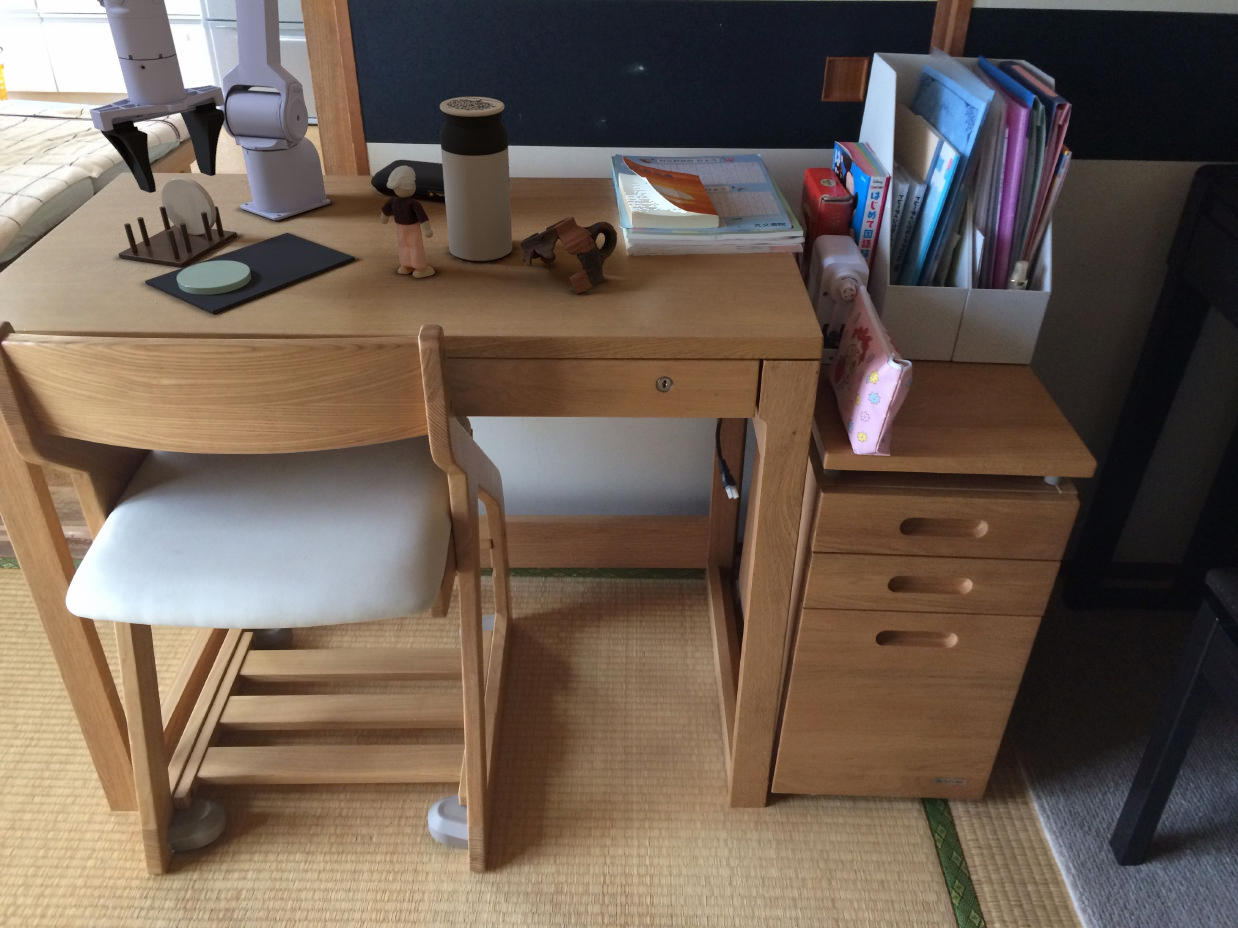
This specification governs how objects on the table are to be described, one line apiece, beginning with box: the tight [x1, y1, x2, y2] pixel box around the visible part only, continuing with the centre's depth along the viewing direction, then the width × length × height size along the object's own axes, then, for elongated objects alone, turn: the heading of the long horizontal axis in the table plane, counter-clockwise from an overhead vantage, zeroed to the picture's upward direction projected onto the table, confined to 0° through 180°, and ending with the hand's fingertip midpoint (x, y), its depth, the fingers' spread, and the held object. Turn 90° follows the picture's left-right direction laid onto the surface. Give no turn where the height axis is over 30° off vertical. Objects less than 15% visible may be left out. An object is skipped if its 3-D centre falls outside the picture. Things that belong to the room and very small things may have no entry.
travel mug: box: [439, 96, 513, 262], centre depth 113 cm, size 8×8×18 cm
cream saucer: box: [160, 176, 216, 235], centre depth 117 cm, size 1×7×7 cm, turn 74°
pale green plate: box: [177, 260, 251, 295], centre depth 108 cm, size 1×8×8 cm
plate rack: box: [118, 205, 238, 268], centre depth 116 cm, size 11×9×4 cm
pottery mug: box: [519, 216, 618, 295], centre depth 112 cm, size 12×10×8 cm
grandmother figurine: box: [379, 166, 435, 279], centre depth 109 cm, size 8×4×13 cm, turn 71°
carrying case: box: [370, 159, 445, 201], centre depth 136 cm, size 11×3×15 cm
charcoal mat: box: [144, 232, 356, 315], centre depth 111 cm, size 20×13×1 cm, turn 144°
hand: (178, 182), depth 106 cm, fingers open, 7 cm apart
